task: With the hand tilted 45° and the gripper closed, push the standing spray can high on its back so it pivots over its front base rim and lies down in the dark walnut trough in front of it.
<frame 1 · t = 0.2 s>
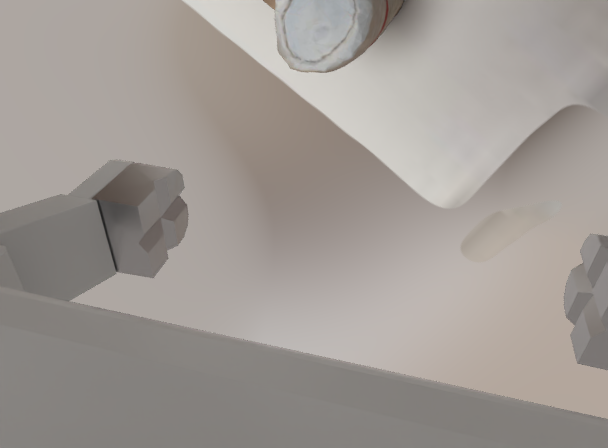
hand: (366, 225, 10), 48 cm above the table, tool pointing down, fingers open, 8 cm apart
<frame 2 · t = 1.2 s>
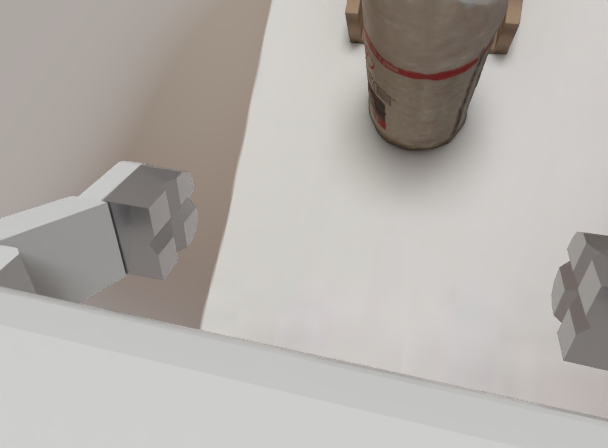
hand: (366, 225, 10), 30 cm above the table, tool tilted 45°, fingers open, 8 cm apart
spray can: (417, 104, 41), on the table
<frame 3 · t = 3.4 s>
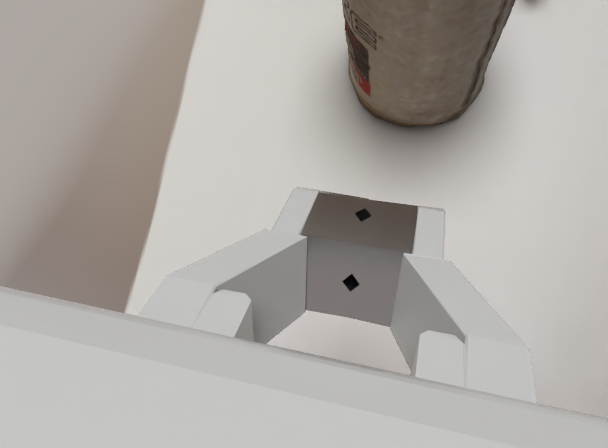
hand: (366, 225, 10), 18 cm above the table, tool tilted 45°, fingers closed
spray can: (415, 65, 30), on the table
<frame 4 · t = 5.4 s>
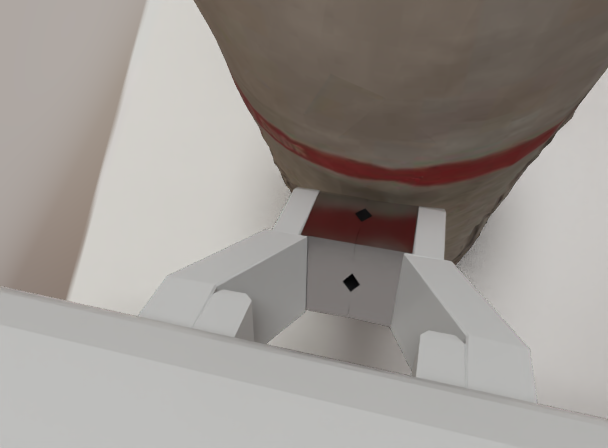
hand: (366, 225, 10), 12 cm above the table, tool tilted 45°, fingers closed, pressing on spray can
spray can: (391, 192, 22), on the table, touching gripper
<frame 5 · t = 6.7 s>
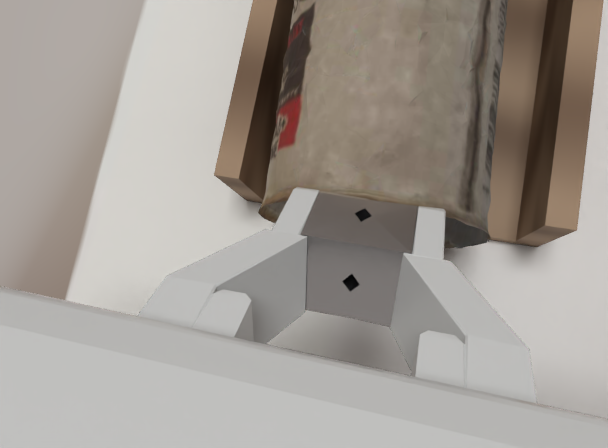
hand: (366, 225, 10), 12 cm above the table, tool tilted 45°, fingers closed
spray can: (367, 243, 18), point 4 cm above the table, touching walnut trough
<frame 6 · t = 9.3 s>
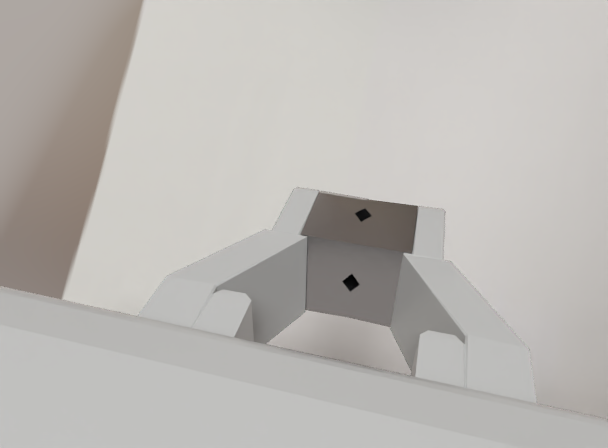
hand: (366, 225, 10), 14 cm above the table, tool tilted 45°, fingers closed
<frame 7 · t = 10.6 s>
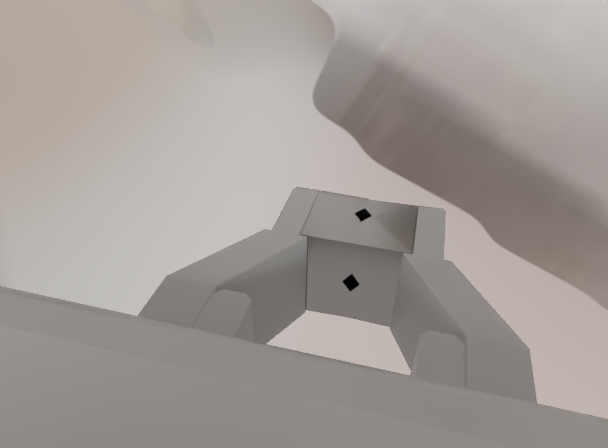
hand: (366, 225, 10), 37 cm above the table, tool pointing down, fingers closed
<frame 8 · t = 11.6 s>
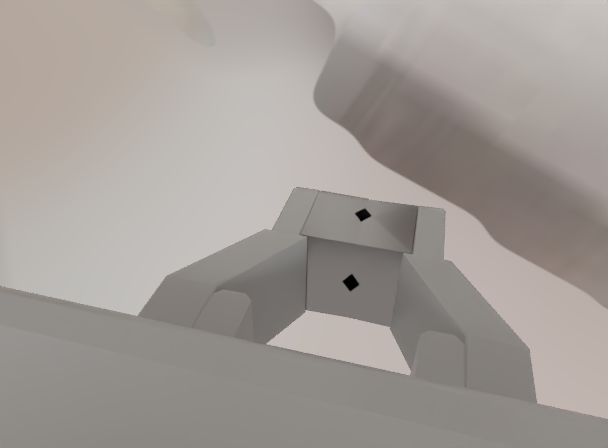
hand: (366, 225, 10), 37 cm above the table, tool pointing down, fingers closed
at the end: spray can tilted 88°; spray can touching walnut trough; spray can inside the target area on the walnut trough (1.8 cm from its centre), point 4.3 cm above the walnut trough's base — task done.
